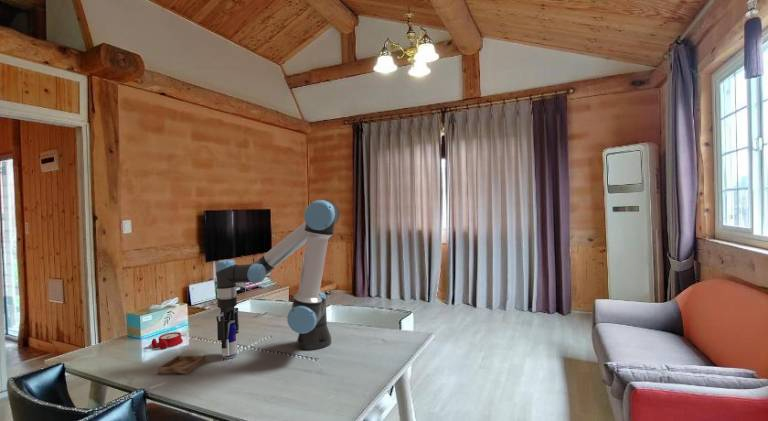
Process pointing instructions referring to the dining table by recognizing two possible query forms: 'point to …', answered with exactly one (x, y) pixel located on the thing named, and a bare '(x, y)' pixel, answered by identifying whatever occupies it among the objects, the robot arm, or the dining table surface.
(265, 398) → the dining table surface
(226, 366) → the dining table surface
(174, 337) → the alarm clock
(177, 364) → the tray
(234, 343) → the beverage can
